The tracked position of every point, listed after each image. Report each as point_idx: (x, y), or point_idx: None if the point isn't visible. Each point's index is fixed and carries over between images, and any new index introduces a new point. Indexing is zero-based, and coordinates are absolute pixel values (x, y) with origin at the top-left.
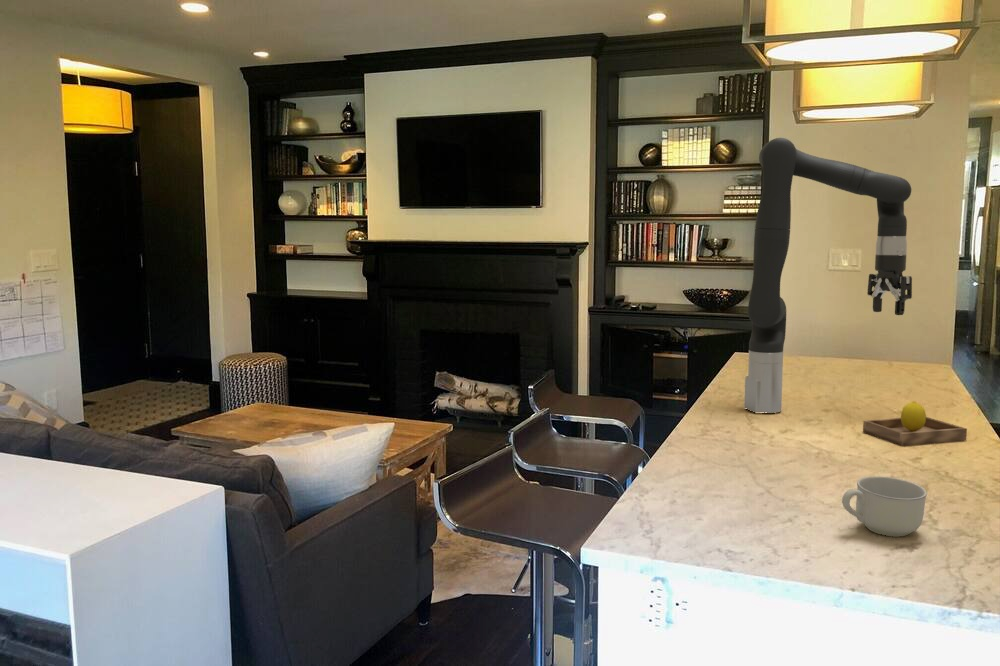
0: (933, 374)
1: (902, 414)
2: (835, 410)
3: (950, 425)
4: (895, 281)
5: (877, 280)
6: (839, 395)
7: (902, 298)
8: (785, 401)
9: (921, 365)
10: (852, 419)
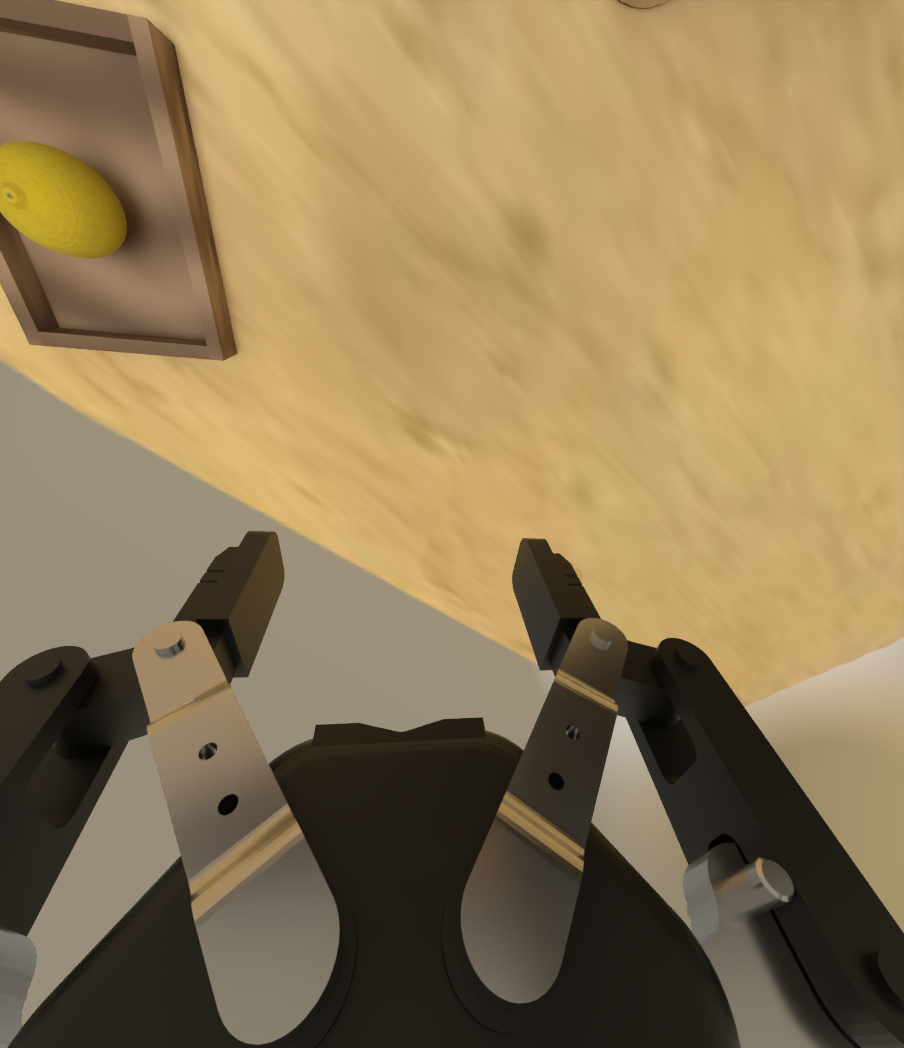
0: None
1: (46, 145)
2: (512, 270)
3: (82, 334)
4: (90, 976)
5: (645, 893)
6: (640, 441)
7: (59, 653)
8: (702, 199)
9: None
10: (384, 213)
